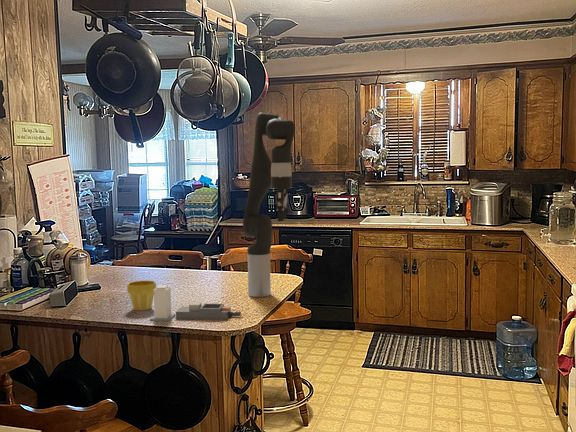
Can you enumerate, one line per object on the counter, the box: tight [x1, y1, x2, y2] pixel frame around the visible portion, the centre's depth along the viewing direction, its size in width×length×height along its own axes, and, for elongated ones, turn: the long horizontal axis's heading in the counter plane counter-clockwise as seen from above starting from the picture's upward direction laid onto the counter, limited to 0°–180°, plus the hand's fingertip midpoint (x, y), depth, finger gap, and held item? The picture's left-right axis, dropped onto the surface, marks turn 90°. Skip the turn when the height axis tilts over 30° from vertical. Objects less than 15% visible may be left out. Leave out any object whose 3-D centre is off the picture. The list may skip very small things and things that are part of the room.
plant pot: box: [126, 280, 157, 311], centre depth 213 cm, size 10×10×10 cm
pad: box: [149, 313, 176, 322], centre depth 199 cm, size 7×7×1 cm
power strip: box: [175, 301, 242, 320], centre depth 200 cm, size 7×22×4 cm, turn 85°
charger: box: [153, 285, 172, 318], centre depth 199 cm, size 4×4×11 cm
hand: (281, 219), depth 207 cm, fingers open, 8 cm apart
